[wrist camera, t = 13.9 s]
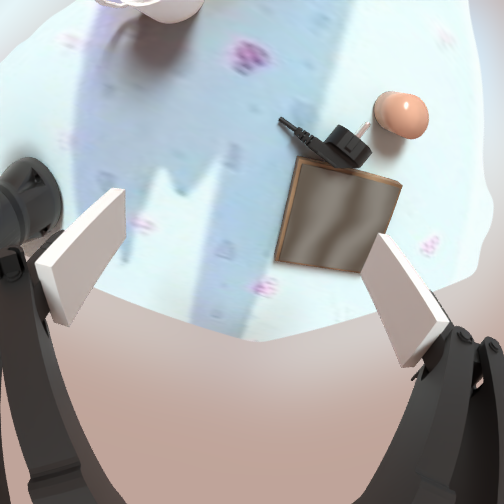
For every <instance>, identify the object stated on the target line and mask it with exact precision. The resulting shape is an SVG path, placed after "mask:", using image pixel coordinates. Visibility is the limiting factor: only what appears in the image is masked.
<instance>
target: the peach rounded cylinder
mask: <svg viewBox="0 0 504 504" xmlns="http://www.w3.org/2000/svg"><path fill="white" fill-rule="evenodd" d="M374 113H375V117H376V120H377V122H378V123H379V125H380V126H381V127H382V128H384V129H386V130H388V131H390V132H392V133H395V134H397V135H399V136H402V137H404V138H407V139H415V138H418V137H420V136H421V135H422V134H423V133H424V132H425V130H426V128H427V126H428V122H429V114H428V110H427V107H426V105H425V103H424V102H423V101H422V100H421V99H420V98H419V97H417V96H415V95H411V94H406V93H400V92H393V91H388V92H385V93H383V94H381V95H380V96H379V97H378V99H377V100H376V103H375V107H374Z"/></svg>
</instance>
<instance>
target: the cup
mask: <svg viewBox="0 0 504 504" xmlns="http://www.w3.org/2000/svg"><path fill="white" fill-rule="evenodd" d="M95 1H96V2H98V3H99V4H100V5H103V6H108V7H112V8H124V7H127V6H131V7H133V8H135V9H136V10H138V11H140V12H142V13H144V14H145V15H147V16H149V17H151V18H152V19H154V20H156V21H158V22H161V23H168V24H171V23H177V22H181V21H184V20H186V19H188V18H190V17H191V16H193V15H194V14H195V13H196V12H197V11H198V10H199V9H200V8H201V6H202V4H203V2H204V0H121V1H122V2H124V3H122V4H119V3H115V2H110V1H106V0H95Z"/></svg>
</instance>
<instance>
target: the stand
mask: <svg viewBox="0 0 504 504" xmlns="http://www.w3.org/2000/svg"><path fill="white" fill-rule="evenodd" d="M402 186H403V185H401V184H400V183H399V182H398V181H395V180H392V179H389V178H385V177H382V176H378V175H375V174H371V173H368V172H364V171H360V170H356V169H353V168H334V167H332V166H331V165H330V164H329V163H328V162H324V161H319V160H315V159H310V158H305V157H301V156H297V159H296V163H295V168H294V172H293V177H292V181H291V186H290V190H289V194H288V199H287V203H286V207H285V212H284V216H283V220H282V225H281V229H280V233H279V237H278V242H277V246H276V250H275V261H280V262H287V263H294V264H301V265H308V266H314V267H321V268H328V269H335V270H342V271H349V272H356V273H361V271H362V269H363V266H364V264H365V262H366V260H367V258H368V255H369V253H370V251H371V248H372V246H373V244H374V241H375V239H376V237H377V234H378V233H381V234H385V233H386V230H387V227H388V225H389V222H390V220H391V217H392V214H393V211H394V209H395V206H396V203H397V200H398V197H399V195H400V192H401V189H402Z"/></svg>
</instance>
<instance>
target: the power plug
mask: <svg viewBox="0 0 504 504" xmlns="http://www.w3.org/2000/svg"><path fill="white" fill-rule="evenodd" d="M278 121H280V122H281V123H282V124H284V125H285V126H287V127H288V128H289V129H291V130H292V131H294V134H295V135H296V136H297V137H298V136H299V137H298V138H299V139H300V140H301V141H302V142H303V143H304V142H305V140H306V142H305V144H306V145H307V146H308V147H309V148H310V149H311V150H313V151H314V152H315V153H316V154H318V155H319V156H320V157H321V158H323V159H324V160H325V161H326V162H328V163H329V164H330V165H331V166H332V167H334V168H360V167H361V166H362V165H363V164H364V162H365V161H366V160H367V159H368V157H369V156H370V155H371V154H372V151H371V150H370V148H369V147H368V146H367V145H366V144H365V143H364V142H362V141H361V139H360V138H361V137H362V135H363V134H364V133H365V132H366V130H367V129H368V128H369V127H370V123H369V122H365V123H364V124H362V125H361V126H360V128H359V129H358V130H357V131H356V133H355V134H353V133H352V132H350V131H349V130H348V129H346V128H345V127H343V126H341V125H338V126H337V127H336V128H335V129H334V130H333V132H332V133H331V134H330V135H329V137H328V138H327V139H326V140H325V141H324V142H322V141H320V140H319V139H318V138H316V137H314V136H313V135H311V136H310V137H309V135H310V133H308V132H306V131H305V130H304V131H303V129H302V128H300V127H298V128H296V127H295V126H294V125H292V124H291V123H290V122H288V121H287V120H285V119H284V118H282V117H280V118H279V120H278ZM302 131H303V132H302Z"/></svg>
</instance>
